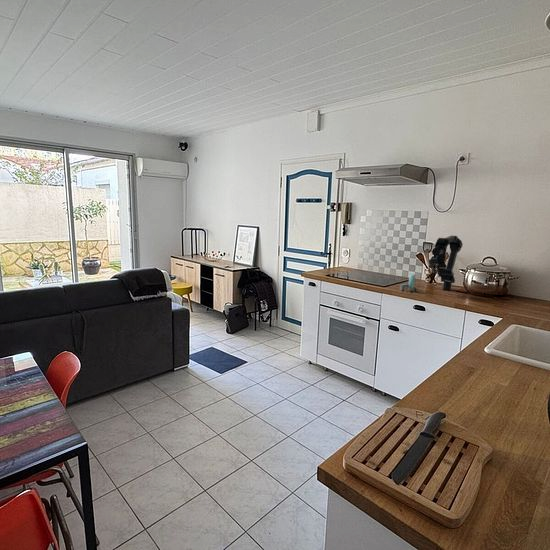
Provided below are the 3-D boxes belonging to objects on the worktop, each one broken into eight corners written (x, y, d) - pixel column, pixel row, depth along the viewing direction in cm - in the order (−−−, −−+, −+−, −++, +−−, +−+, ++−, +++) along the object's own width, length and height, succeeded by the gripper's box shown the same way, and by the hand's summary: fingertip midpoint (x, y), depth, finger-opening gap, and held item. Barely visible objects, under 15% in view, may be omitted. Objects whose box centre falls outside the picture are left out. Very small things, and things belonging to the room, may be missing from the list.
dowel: (408, 290, 271) (410, 274, 269) (413, 291, 269) (415, 274, 267) (407, 291, 267) (408, 275, 265) (413, 292, 265) (414, 275, 263)
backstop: (410, 289, 274) (410, 283, 273) (401, 290, 269) (402, 284, 268) (408, 288, 276) (408, 283, 275) (399, 290, 271) (400, 284, 270)
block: (416, 291, 269) (417, 287, 268) (409, 292, 264) (409, 288, 264) (410, 289, 274) (410, 285, 273) (402, 290, 269) (402, 286, 269)
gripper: (428, 253, 271) (426, 273, 273) (430, 255, 253) (428, 276, 256) (444, 254, 267) (442, 274, 270) (447, 256, 250) (445, 278, 252)
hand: (439, 275), depth 262 cm, fingers open, 9 cm apart
